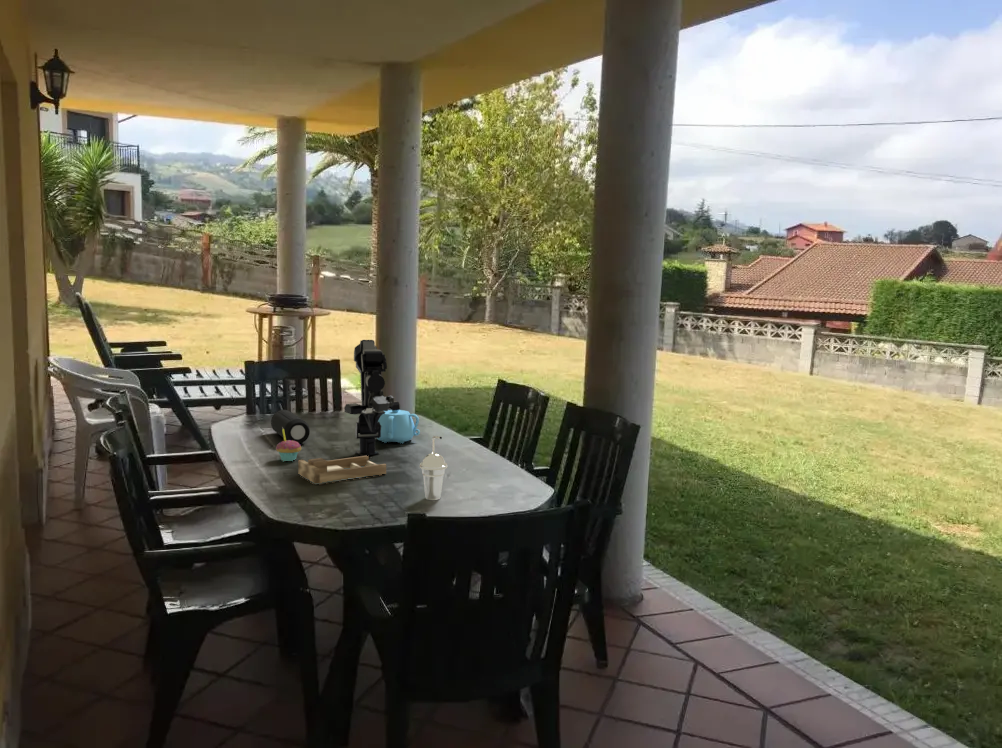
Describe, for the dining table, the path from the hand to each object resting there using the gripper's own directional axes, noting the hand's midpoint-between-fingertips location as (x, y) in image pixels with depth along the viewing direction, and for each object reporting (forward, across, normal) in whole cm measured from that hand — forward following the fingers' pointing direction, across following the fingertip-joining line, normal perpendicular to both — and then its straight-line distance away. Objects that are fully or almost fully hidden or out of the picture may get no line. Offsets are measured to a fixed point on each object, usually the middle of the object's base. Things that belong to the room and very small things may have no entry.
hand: (372, 431), depth 275 cm
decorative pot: (+12, +25, +30) cm, 41 cm away
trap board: (+12, -14, -6) cm, 19 cm away
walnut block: (+10, -23, -6) cm, 26 cm away
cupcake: (+12, -22, +21) cm, 33 cm away
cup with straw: (+12, -2, -44) cm, 46 cm away
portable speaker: (+12, -9, +53) cm, 55 cm away
